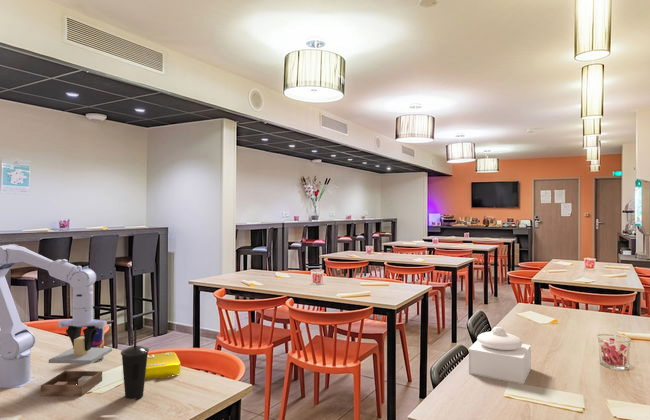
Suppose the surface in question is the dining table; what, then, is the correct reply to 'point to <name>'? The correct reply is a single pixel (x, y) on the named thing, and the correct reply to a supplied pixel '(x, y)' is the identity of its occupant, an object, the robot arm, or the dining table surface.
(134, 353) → the drinking cup
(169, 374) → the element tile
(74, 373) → the box
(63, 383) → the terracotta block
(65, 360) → the lid
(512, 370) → the white lidded container
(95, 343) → the energy drink
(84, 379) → the cream block
